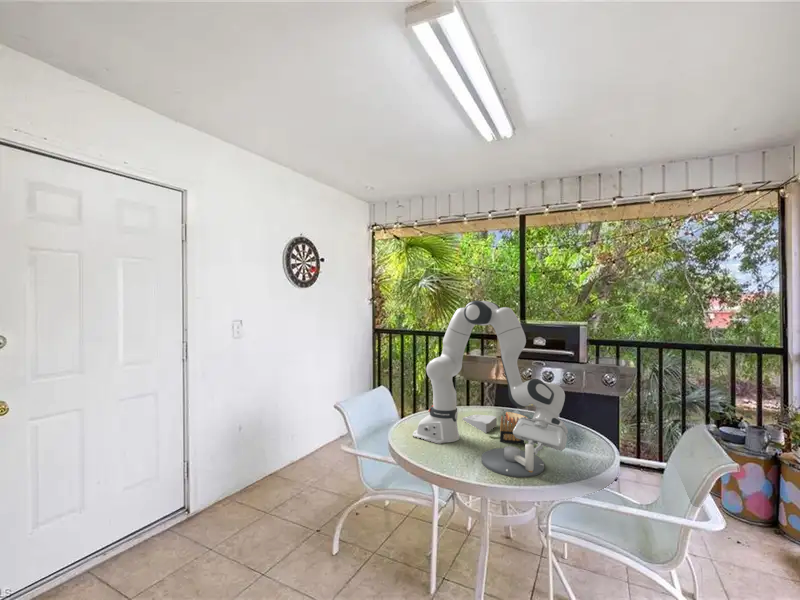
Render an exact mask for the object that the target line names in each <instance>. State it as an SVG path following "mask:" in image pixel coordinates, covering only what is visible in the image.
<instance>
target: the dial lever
mask: <svg viewBox="0 0 800 600" xmlns="http://www.w3.org/2000/svg"><path fill="white" fill-rule="evenodd" d="M524 445H525V446H524V451H525V458H523V457H521V456H520V450H521V449H520V448H519V447H516V446H512V445H511V446H509V445H507V446H504V459H505V460H506V461H509V462H519V463H521V464H522V465H524V466H525V469H526V470H528V471H533V470H534V455H535V454H534V448H535V447H534V445H535V444H534V445H533V444H529V443H524Z"/></svg>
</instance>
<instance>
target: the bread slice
mask: <svg viewBox="0 0 800 600" xmlns="http://www.w3.org/2000/svg"><path fill="white" fill-rule="evenodd" d="M505 415H506V417H507V422H508V421H509V416H510V417H511V423H512V420H513V417H514V418H515V425H516V421H517V417H518V418H521V417H522V418H523V417H526V418H529V417H527V415H526V416H525V415H523V414H520V413H516V412H512V411H511V412H510V411H506V412H505Z"/></svg>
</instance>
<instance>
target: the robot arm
mask: <svg viewBox="0 0 800 600" xmlns="http://www.w3.org/2000/svg"><path fill="white" fill-rule="evenodd" d="M475 326H491V327H492V328H493V329H494V331H495V334H496V336H497V339H498V342H499V343H498V344H499V347H500V361H501V364H502V368H503V371H504V375H505V379H506V382H507V388H508V389H507V390H508V393H507V394H508V398H509V401H510V402H511V404H512V405H513V406H514V407H516V408H517V409H521V410H522V409H526V408H528V407H531V406H534V407H535V411H534V414H533V416H532V418H530V417H528V418H526V417H527V416H526V417H523V418H519V420H518V422H517V424H516V426H515V427H514V429H513V434H514V436H515V437H516V438H518V439H521V440H524V442H528V443H527V444H533V445H536V446H535V447H534V455H536V456H538V453H539V452H540V451H541V450H542V449H543V448H544V447H546V448H550V449H553V450H557V451H560V452H562V451H563V450H566V446H567V442H568V436H567V434H568V432H569V430H568V427H567V426H566V425H565V423H564V422H563V421H562V420H561V419H559V417H560V416H559V415H560V413H561V412H562V409H563V407H564V403H565V399H566V394H565V390H564V389H563V388H562V387H561V386H560V385H559V384H557V383H553V382H551V383H549V382H548V383H547V382H545V381H544V382H543V380H542V379H539V378H532V379H529V380H526V381H524V382H523V380H522V376H521V373H520V369H519V365H518V360H519V357H520V355H521V353H522V351H524V348H525V346H526V343H527V339H526V338H527V337H526V334H525V332H524V329H523V327H522V324H521V322H520V320H519V318H518V317H517V314H516V313H515V312H514V311H513V309H512V308H511V307H508V306H505V307H504V306H503V307H500V306H499V305H498V304H497V303H494V302H491V301H487V300H472V301H470V302H468V303H467V304H466V306H465V307H459V308H457V309H456V310H455V311H454V314H453V316H452V317H451V319H450V321H449V323H448V326H447V329H446V331H445V334H444V336H443V339H442V345H443V346H442V351H441V354H440V356H438V357H435V358H433V359H431V360H430V361H429V362H428V363H427V365H426V368H425V369H426V370H425V371H426V375H427V377H428V378H429V379H430V383H431V387H432V394H433V395H432V400H433V401H432V405H431V407H429V409H428V410H427V411H428V413H429V414H427V415H426V416H425V417H423V418H422V419H421V420H420V421H419V422H418V425H417V429H415V430H414V431H413V432H412V437H413V436H415V437H418V438H417V439H419V438H421V439H420V440H423V439H424V440H423V441H427V442H430V441H431V442H432V443H435V444H440V445H441V444H444V443H453V442H457V441H458V440H460V439H461V437H460V433H459V429H458V421H457V420H458V407H457V391H456V389H455V387H454V382H453V377H455V376H457V375H458V374H459V373H461V372H460V371H461V370H462V368H463V360H464V359H463V358H464V355H465V354H464V353H465V349H466V347H467V345H468V341H469V339H470V336H471V334H472V331H473V329H474V327H475ZM415 437H414V438H415ZM431 442H430V443H431Z"/></svg>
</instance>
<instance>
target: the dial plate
mask: <svg viewBox="0 0 800 600" xmlns="http://www.w3.org/2000/svg"><path fill="white" fill-rule="evenodd" d="M504 448H505V447H504ZM504 448H502V447H500V448H498V447H497V448H492V449H488V450H486V451H484V452H483V453H482V454H481V463H482V465H483V466H484V468H486V469H488V470H489V471H491V472H493V473H497V474H498V475H503V476H508V477H514V478H528V477H529V478H530V477H536V476H538V475H540V474H541V473H543V472H544V470H545V462H544V461H543V459H542V458H541V457H539V456H538V455H535V454H534V470H533V471H528V470H526V469H525V466H524V465H522V464H521V463H519V462H509V461H506V460H505V459H504ZM520 456H521V457H523V458H525V450H521V449H520Z"/></svg>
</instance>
